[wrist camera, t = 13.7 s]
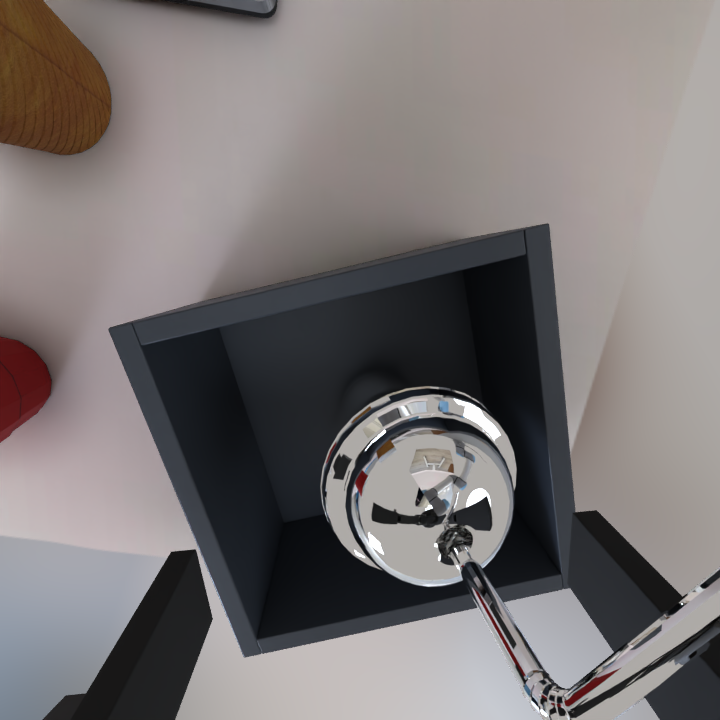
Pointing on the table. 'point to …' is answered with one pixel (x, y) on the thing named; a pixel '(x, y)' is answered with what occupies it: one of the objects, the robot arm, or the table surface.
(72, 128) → the disposable coffee cup
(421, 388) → the cup with straw
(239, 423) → the bin
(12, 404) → the plastic cup
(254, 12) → the external hard drive
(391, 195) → the table surface
